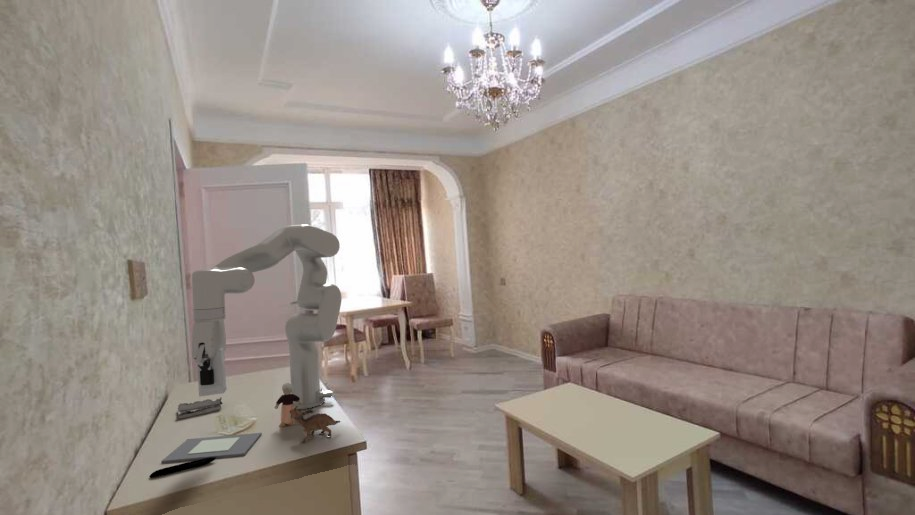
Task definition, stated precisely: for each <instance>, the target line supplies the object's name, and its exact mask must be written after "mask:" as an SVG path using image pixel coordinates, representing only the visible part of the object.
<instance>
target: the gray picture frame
mask: <svg viewBox="0 0 915 515" xmlns="http://www.w3.org/2000/svg"><path fill="white" fill-rule="evenodd" d="M262 434H263V433H262V432H254V433H253V432H252V433H244V434H230V435H221V436H220V435H219V436H209V437H208V436H205V437H198V438H197V437H196V438H188V439H186V440H185V441H184V442H182V443H181V444H180V445H179V446H178V447H176V448H175V449H173V451H171V452H170V453H169V454H168V455H167V456H166V457H165V458H163V459H162V460H161V464H168V463H177V462H178V463H179V462H180V463H181V462H192V461H196V460H200V459H204V458H209V457H217V458H216V459H221V458H230V457H231V458H233V457H243V456H246V454H248V452H249V451H250V450H251V448H252V447H254V445H255V444H256V443H257V441H258V440H259V439H260V438H261V436H262Z"/></svg>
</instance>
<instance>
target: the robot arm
mask: <svg viewBox="0 0 915 515" xmlns="http://www.w3.org/2000/svg"><path fill="white" fill-rule="evenodd" d="M340 246H341V245H340V242H339V239H338V237H337V236H336V235H335V234H334V233H332V232H329V231H327V230H324V229H322V228H319V227H316V226H313V225H311V224H292V225H285V226H282V227H280V228H279V229H277V230H275V231H274V232H272V233H271V234H270V235H268V236H267V237H266V238H264V239H262V240H261V241H260V242H258V243H257V244H255V245H253V246H251V247H248V248H245V249H244V250H242V251H240V252H237V253H235V254H233V255H231V256H228V257H227V258H224V259H223V260H221V261H219V262H218V263H216V264H215V265H214V266H213V267H211V268H210V269H197V270H195V271H193V272H192V273H191V289H192V290H191V291H192V292H191V293H192V317H193V320H192V321H193V326H192V338H191V355H192V356H191V357H192V359H193V360H195V363H196V365H197V364H198V366H199V371H200V384H201V385H212V384H214V369H212V362H213V357H215V356H216V352H217V350H218V349H220V348H222V347H224V352H225V351H226V349H227V339H226V327H225V321H224V320H225V319H226V300H225V299H226V298H225V295H226V294H230V295H235V294H236V295H237V294H244V293H247V292H248V291H249V290H251V289H252V288H253V286H254V284H255V276H254V273H256V272H261V271H266V270H268V269H271V268H273V267H275V266H277V265H278V264H279V263H280V262H281V261H283V259H285V258H287V257H288V256H289V255H291V254H292V253H293V252H296V255H297V256H298V258H299V260H300V262H301V265H302V268H303V272H302V277H301V280H300V284H299V289H298V294H297V298H296V303H297V306H298V308H300V309H301V310H303V311H316V312H317V313H313V312H309V313H308V312H307V313H306V312H305V313H302V312H301V313H295V314H292V315H291V316H289V317H288V319H287V321H286V323H285V328H284V329H285V336H286V338H287V339H286V340H287V343H288V351H289V370H290V371H289V374H290V375H289V376H290V384H291V385H292V386H293V390H292V392H291V393H290V394H294V395H296V396H298V397H299V398H300V401H301V402H302V404H301V405H299V404H298V403H297V402H295V401H293V403H294V408H295V407H296V406H298V407H297V408H296V409H295V410H296V411H298V410H300V411H301V410H302V411H303V410H308V409H307V408H309V409H313V408H315V406H317V407H319V406H321V405H322V403H323V402H324V401H325V402H326V399H328V398H333V396H334V392H333V391H331V390H323V387H322V386H321V384H320V383H321V381H320V380H321V379H320V363H319V362H320V361H319V360H320V355H319V353H320V352H319V349H318V347H317V344H316V343H317V342H319V343H320V342H321V343H323V342H327V341H328V342H329V340H331V339H332V338H333V337H334V335H335V332H336V329H337V324H338V321H339V320H338V319H339V315H340V311H341V305H342V300H343V298H342V293H341V290H340V288H339V287H338V286H337V285H335V284H333V283H327V279H328V268H327V265H326V264H325V262H324V261H323V259H322V258H332V257H335V256H336V255H337V254H338V253H339V250H340ZM204 356H208V357H209V358H204ZM206 360H209V361H208V363H207V362H206ZM331 396H332V397H331ZM325 402H324V403H325ZM324 403H323V404H324ZM320 404H321V405H320ZM318 405H319V406H318ZM312 407H313V408H312Z"/></svg>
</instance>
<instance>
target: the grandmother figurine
mask: <svg viewBox="0 0 915 515" xmlns="http://www.w3.org/2000/svg"><path fill="white" fill-rule="evenodd" d="M281 390H282V393H283V394H281V395H280V396H279V398H278V399H277V401H276V403H275V406H274V409H276V410H277V409H279V406H280V405H281V407H280V408H281V410H280V412H281V413H280V423H279V425H278V426H279V427H281V428H282V427H286V426H287V425H288V426H294V425H296V423H295V422H296V421H295V420H294V419H291V417H290V416H291V414H290V410H291V409H294V403H293V401H295V402H297V403H298V404H299V405H301V404H302V402H301V401H300V398H299V397H298V396H296V395H294V394H291V392H292V390H293V386H292V385H291V383H289V382H286V383H284V384H282V387H281Z"/></svg>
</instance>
